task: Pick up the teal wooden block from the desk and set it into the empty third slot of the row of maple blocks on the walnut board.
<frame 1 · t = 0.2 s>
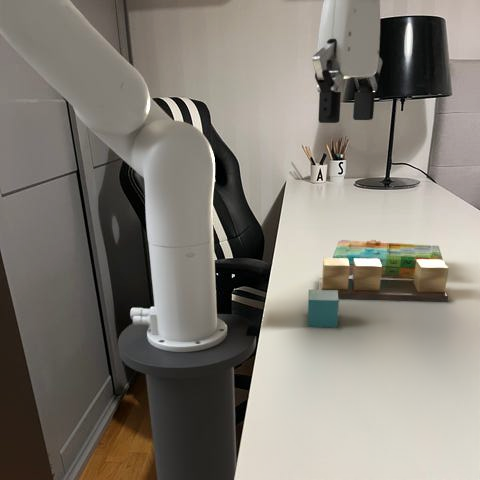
hand: (346, 121, 75), 28 cm above the table, tool pointing down, fingers open, 9 cm apart
puzzle game: (385, 270, 100), on the table
walnut board: (379, 291, 89), on the table
teal block: (322, 321, 77), on the table
maple block 4: (428, 287, 87), point 1 cm above the table, touching walnut board
maple block 1: (334, 285, 89), point 1 cm above the table, touching walnut board
maple block 2: (365, 286, 89), point 1 cm above the table, touching walnut board
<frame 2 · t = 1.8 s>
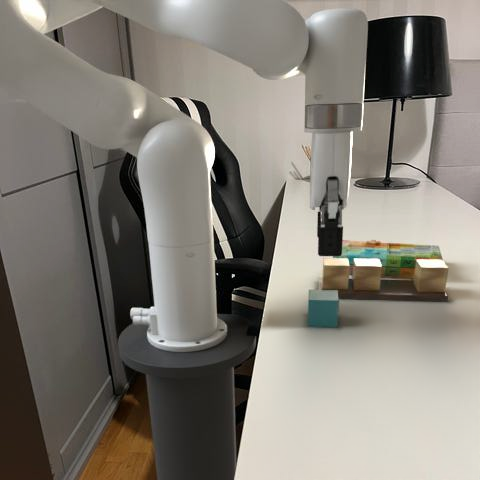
hand: (328, 246, 73), 12 cm above the table, tool pointing down, fingers open, 9 cm apart
nothing on the table moved.
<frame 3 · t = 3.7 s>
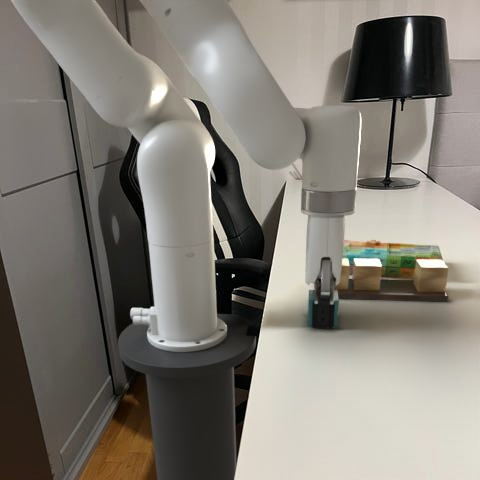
hand: (322, 319, 77), 0 cm above the table, tool pointing down, fingers closed on teal block, 4 cm apart
teal block: (322, 321, 77), on the table, touching gripper
everything else where it was.
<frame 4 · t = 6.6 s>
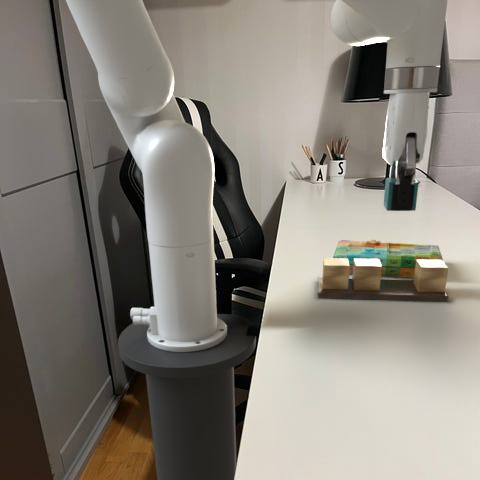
hand: (399, 205, 81), 15 cm above the table, tool pointing down, fingers closed on teal block, 4 cm apart
teal block: (399, 207, 81), point 15 cm above the table, touching gripper
everything else where it was.
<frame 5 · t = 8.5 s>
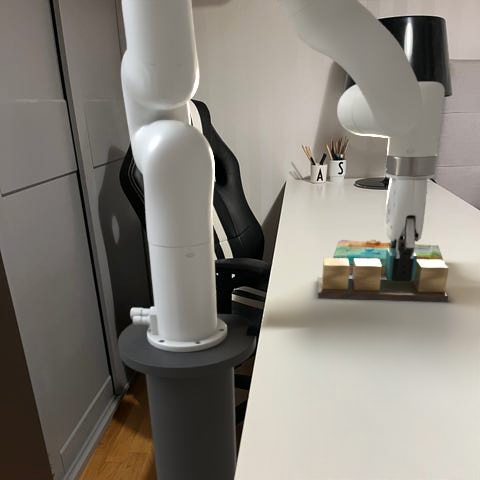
hand: (398, 274, 87), 3 cm above the table, tool pointing down, fingers closed on teal block, 4 cm apart
teal block: (399, 276, 87), point 3 cm above the table, touching gripper
everything else where it was.
when the fingers open (1 cm above the table, at t = 9.5 s): teal block stays where it is, resting on walnut board.
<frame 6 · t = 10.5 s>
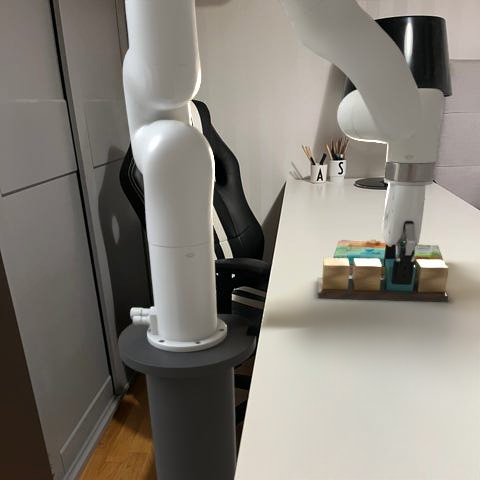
hand: (396, 274, 87), 3 cm above the table, tool pointing down, fingers open, 9 cm apart
teal block: (397, 286, 88), point 1 cm above the table, touching walnut board
everything else where it was.
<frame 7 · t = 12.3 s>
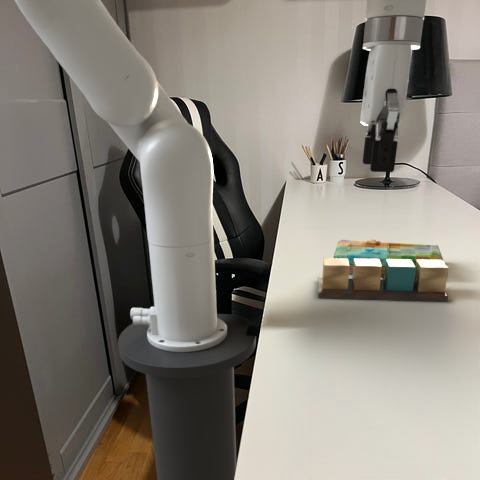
hand: (377, 167, 74), 22 cm above the table, tool pointing down, fingers open, 9 cm apart
nothing on the table moved.
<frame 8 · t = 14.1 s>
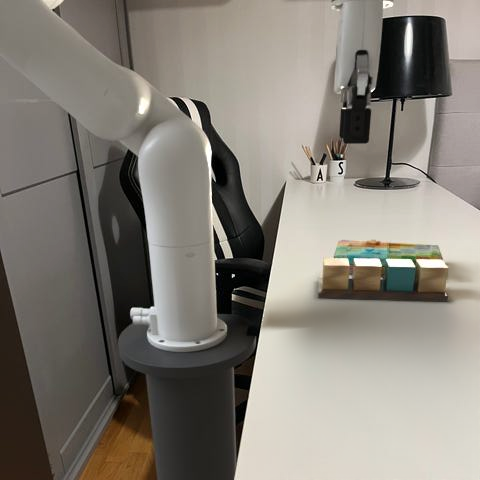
hand: (352, 140, 68), 26 cm above the table, tool pointing down, fingers open, 9 cm apart
nothing on the table moved.
at the end: teal block 0.2 cm from the target spot, point 1.0 cm above the table; teal block tilted 0°; maple block 4 moved 0.0 cm from its start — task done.
